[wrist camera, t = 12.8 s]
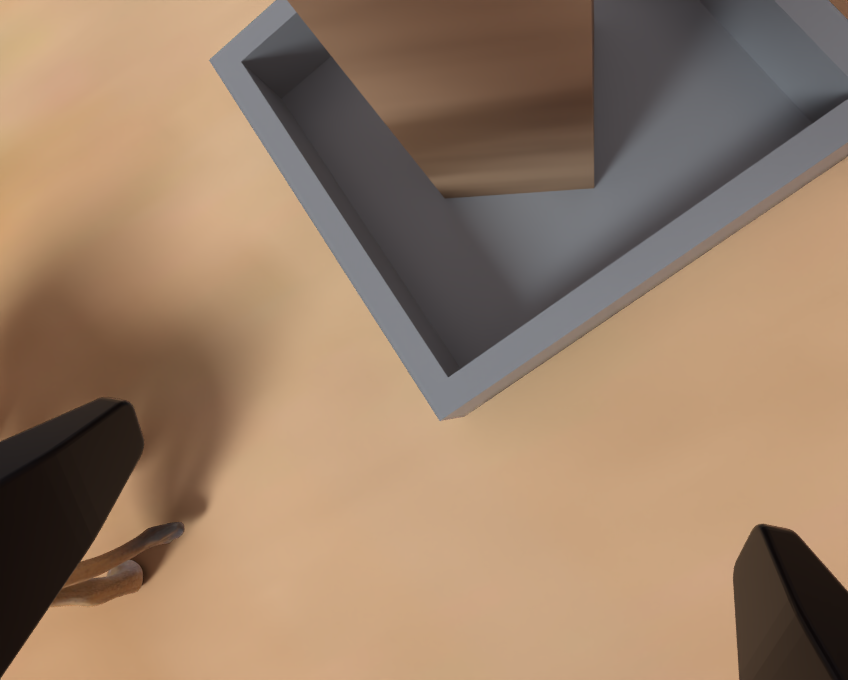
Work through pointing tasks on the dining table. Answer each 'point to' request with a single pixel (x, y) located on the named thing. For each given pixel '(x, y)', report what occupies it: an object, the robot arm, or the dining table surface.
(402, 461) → the dining table surface
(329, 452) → the dining table surface
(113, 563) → the lion figurine
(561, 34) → the walnut block
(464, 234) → the tray
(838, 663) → the robot arm
